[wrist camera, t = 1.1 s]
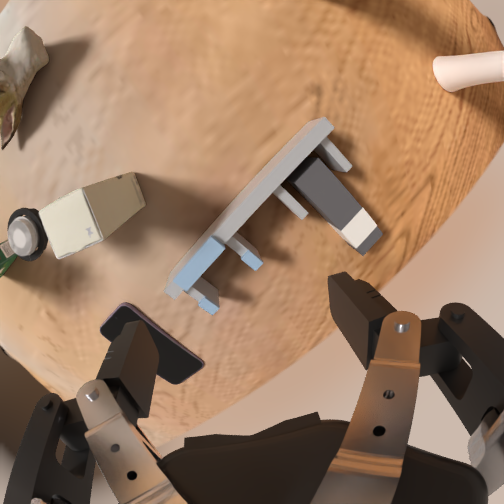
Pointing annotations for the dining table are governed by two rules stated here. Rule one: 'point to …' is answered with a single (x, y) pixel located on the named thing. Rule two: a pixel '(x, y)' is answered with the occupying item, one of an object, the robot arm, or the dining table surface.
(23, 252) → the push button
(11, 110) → the ceramic sculpture
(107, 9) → the dining table surface
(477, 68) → the cosmetic bottle
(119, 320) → the smartphone
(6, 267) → the coffee box
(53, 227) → the box
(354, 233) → the gray rectangular block
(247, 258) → the grey pronged rack
